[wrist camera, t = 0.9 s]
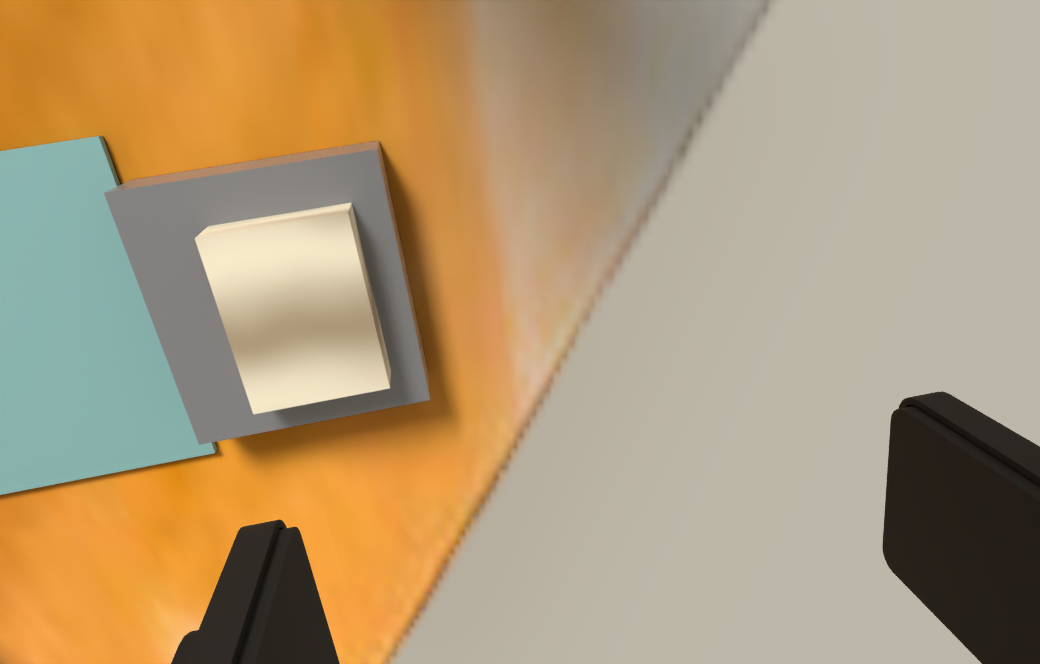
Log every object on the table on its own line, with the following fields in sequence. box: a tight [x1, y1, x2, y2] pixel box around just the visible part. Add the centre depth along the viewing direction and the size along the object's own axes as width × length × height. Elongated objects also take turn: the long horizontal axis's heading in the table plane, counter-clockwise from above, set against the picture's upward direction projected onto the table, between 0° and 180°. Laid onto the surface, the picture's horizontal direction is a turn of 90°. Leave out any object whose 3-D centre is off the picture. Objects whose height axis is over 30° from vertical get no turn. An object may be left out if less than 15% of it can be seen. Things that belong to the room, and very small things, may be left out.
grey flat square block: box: [104, 141, 430, 445], centre depth 32 cm, size 12×11×3 cm
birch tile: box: [195, 202, 391, 414], centre depth 30 cm, size 8×6×2 cm
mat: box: [0, 136, 217, 495], centre depth 32 cm, size 16×13×1 cm
